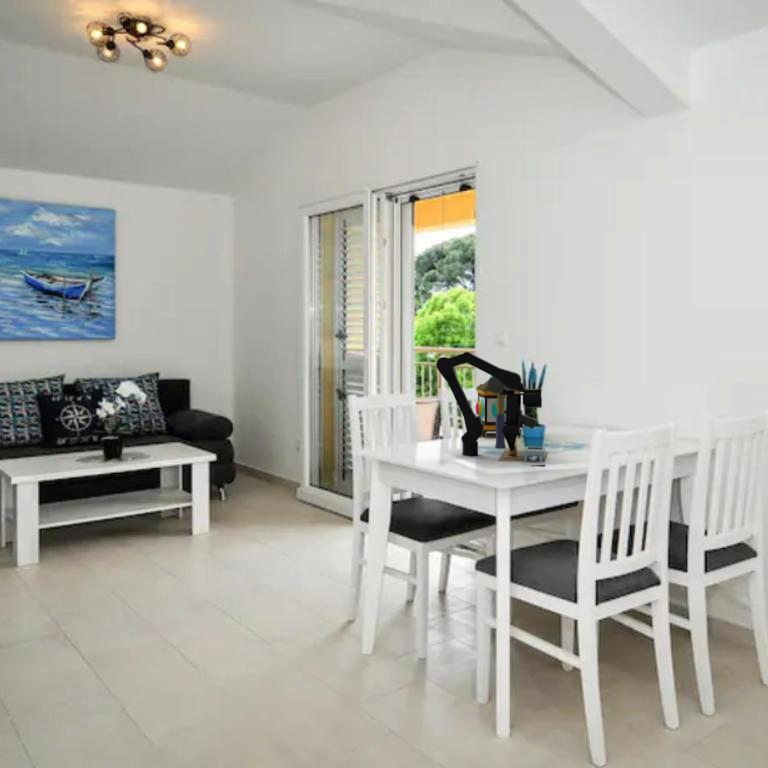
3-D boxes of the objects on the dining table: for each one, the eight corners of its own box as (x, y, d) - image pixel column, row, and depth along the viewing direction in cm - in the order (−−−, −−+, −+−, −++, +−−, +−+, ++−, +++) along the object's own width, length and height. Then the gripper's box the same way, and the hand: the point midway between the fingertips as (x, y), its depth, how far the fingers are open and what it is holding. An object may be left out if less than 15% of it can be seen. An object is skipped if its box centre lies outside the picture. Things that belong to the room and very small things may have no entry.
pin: (503, 455, 281) (504, 430, 281) (515, 454, 283) (515, 429, 282) (509, 457, 277) (510, 432, 276) (521, 456, 279) (521, 431, 278)
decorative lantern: (514, 432, 356) (514, 367, 354) (525, 438, 337) (526, 369, 334) (471, 432, 355) (471, 367, 353) (479, 438, 335) (480, 369, 333)
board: (504, 454, 293) (504, 450, 293) (547, 455, 289) (547, 451, 289) (497, 465, 270) (498, 460, 269) (544, 466, 266) (544, 462, 266)
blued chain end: (525, 454, 282) (525, 446, 282) (545, 455, 281) (545, 447, 280) (522, 461, 267) (522, 453, 267) (543, 462, 266) (543, 453, 266)
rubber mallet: (504, 454, 292) (504, 375, 290) (485, 453, 296) (485, 374, 294) (514, 449, 303) (515, 373, 301) (496, 448, 307) (497, 373, 305)
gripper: (534, 410, 268) (533, 455, 269) (537, 405, 286) (536, 447, 287) (501, 409, 271) (501, 453, 272) (506, 404, 289) (506, 446, 290)
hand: (512, 450), depth 280 cm, fingers closed on pin, 3 cm apart
